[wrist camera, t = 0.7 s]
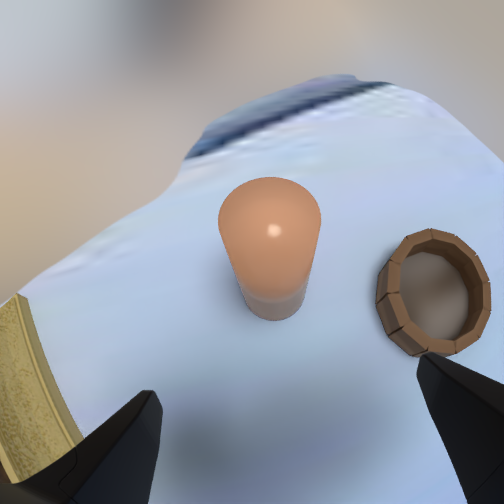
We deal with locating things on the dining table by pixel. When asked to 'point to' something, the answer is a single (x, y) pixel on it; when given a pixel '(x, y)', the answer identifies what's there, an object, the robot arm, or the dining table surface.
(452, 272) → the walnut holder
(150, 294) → the dining table surface
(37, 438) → the decorative clock
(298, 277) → the terracotta canister
